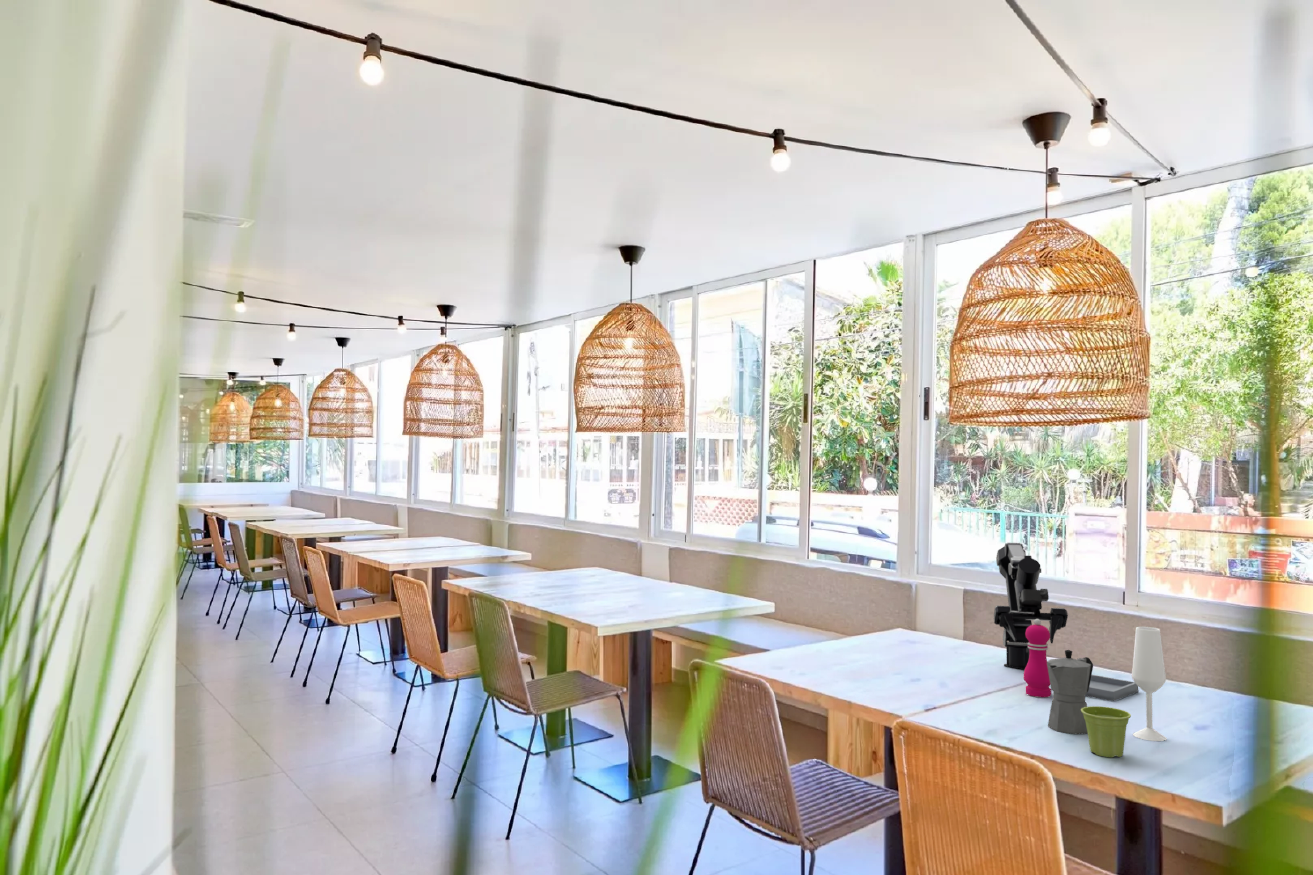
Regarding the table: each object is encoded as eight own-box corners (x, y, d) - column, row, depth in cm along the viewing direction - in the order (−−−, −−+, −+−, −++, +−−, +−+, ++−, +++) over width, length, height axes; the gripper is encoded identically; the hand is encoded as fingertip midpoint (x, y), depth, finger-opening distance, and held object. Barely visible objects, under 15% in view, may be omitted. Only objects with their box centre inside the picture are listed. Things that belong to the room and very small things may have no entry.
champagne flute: (1150, 742, 192) (1148, 631, 193) (1125, 733, 198) (1123, 626, 199) (1174, 739, 194) (1172, 630, 194) (1149, 730, 200) (1147, 625, 201)
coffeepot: (1071, 738, 194) (1069, 656, 195) (1033, 727, 202) (1032, 649, 203) (1111, 728, 202) (1110, 649, 203) (1073, 718, 210) (1072, 642, 211)
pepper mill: (1017, 692, 234) (1016, 617, 235) (1037, 689, 238) (1036, 615, 238) (1039, 698, 228) (1038, 621, 229) (1059, 696, 231) (1058, 619, 232)
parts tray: (1053, 689, 238) (1053, 680, 238) (1079, 681, 248) (1079, 672, 248) (1113, 701, 226) (1113, 691, 226) (1138, 691, 236) (1138, 682, 236)
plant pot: (1078, 755, 182) (1077, 713, 183) (1084, 743, 190) (1084, 703, 191) (1129, 763, 177) (1128, 720, 178) (1133, 751, 185) (1133, 710, 185)
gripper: (994, 576, 248) (1000, 622, 236) (1066, 579, 243) (1075, 625, 232) (991, 601, 255) (996, 646, 244) (1060, 603, 250) (1069, 650, 239)
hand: (1033, 641), depth 239 cm, fingers open, 9 cm apart
